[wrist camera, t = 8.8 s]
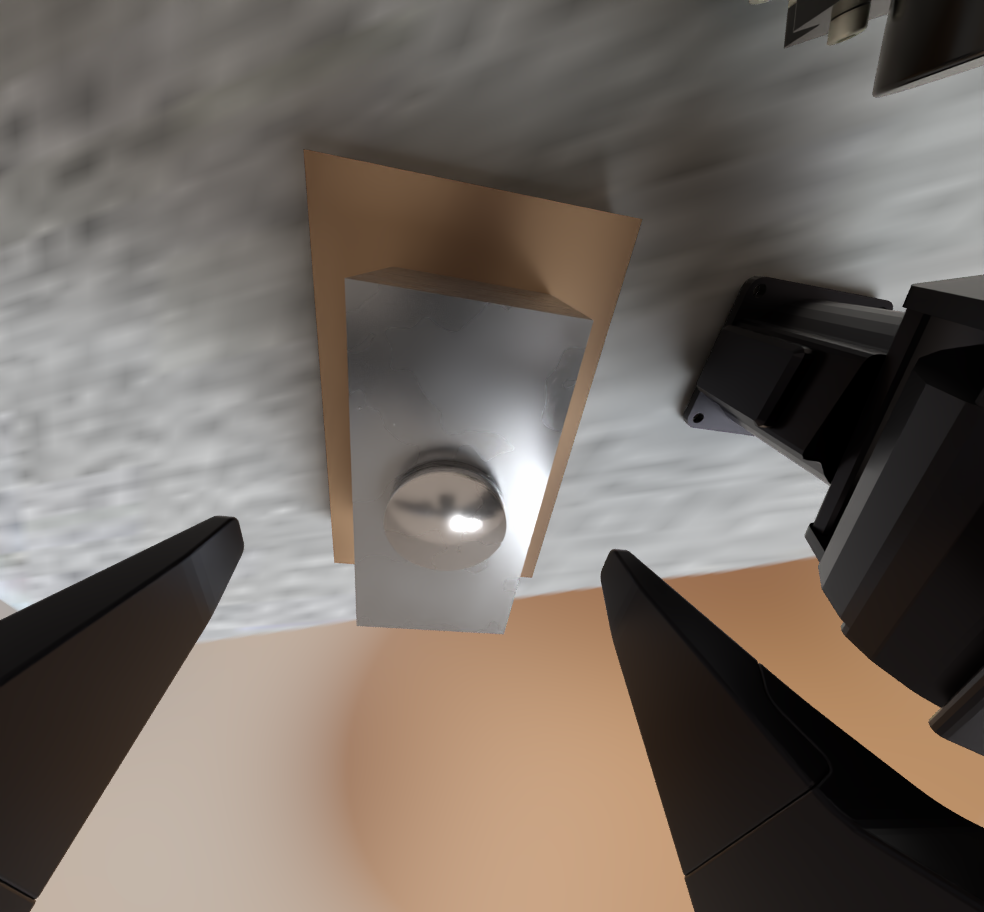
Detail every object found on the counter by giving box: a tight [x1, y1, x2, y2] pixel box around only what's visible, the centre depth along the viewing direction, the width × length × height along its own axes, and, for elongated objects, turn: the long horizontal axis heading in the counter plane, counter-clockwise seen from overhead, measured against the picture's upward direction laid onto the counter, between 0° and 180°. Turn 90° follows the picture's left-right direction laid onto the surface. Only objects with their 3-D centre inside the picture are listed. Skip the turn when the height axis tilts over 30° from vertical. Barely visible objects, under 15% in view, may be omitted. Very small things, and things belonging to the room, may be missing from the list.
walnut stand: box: [304, 149, 642, 578], centre depth 16 cm, size 10×16×2 cm, turn 171°
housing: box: [345, 266, 594, 634], centre depth 12 cm, size 11×5×6 cm, turn 171°
